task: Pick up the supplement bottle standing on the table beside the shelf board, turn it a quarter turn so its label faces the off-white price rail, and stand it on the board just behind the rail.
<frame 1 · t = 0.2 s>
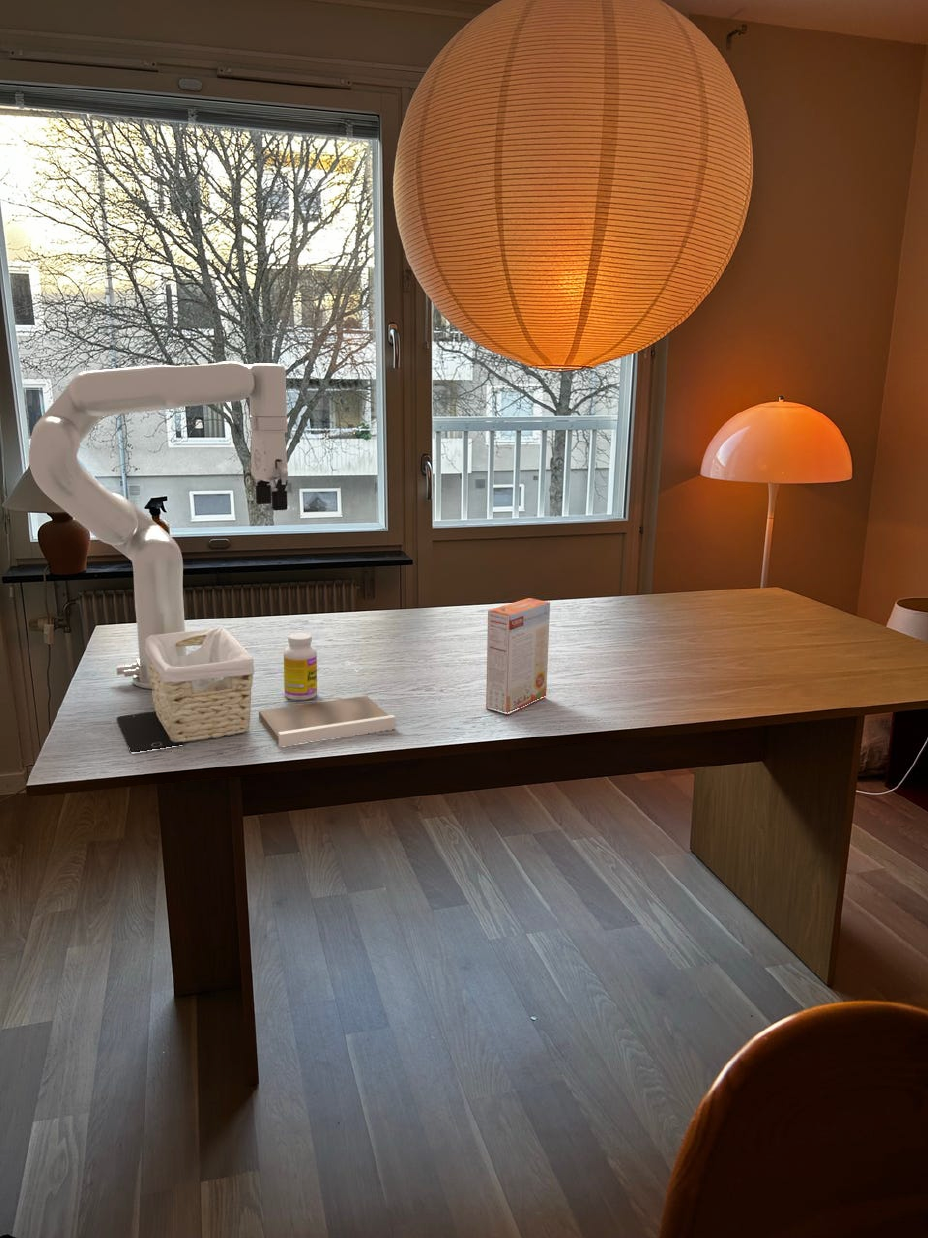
hand: (271, 506, 191), 36 cm above the table, tool pointing down, fingers open, 9 cm apart
price rail: (338, 737, 164), on the table
cell phone: (149, 735, 164), on the table
shelf board: (325, 722, 171), on the table
storage basket: (201, 720, 171), on the table
cracker box: (515, 704, 184), on the table
supplement bottle: (301, 696, 184), on the table
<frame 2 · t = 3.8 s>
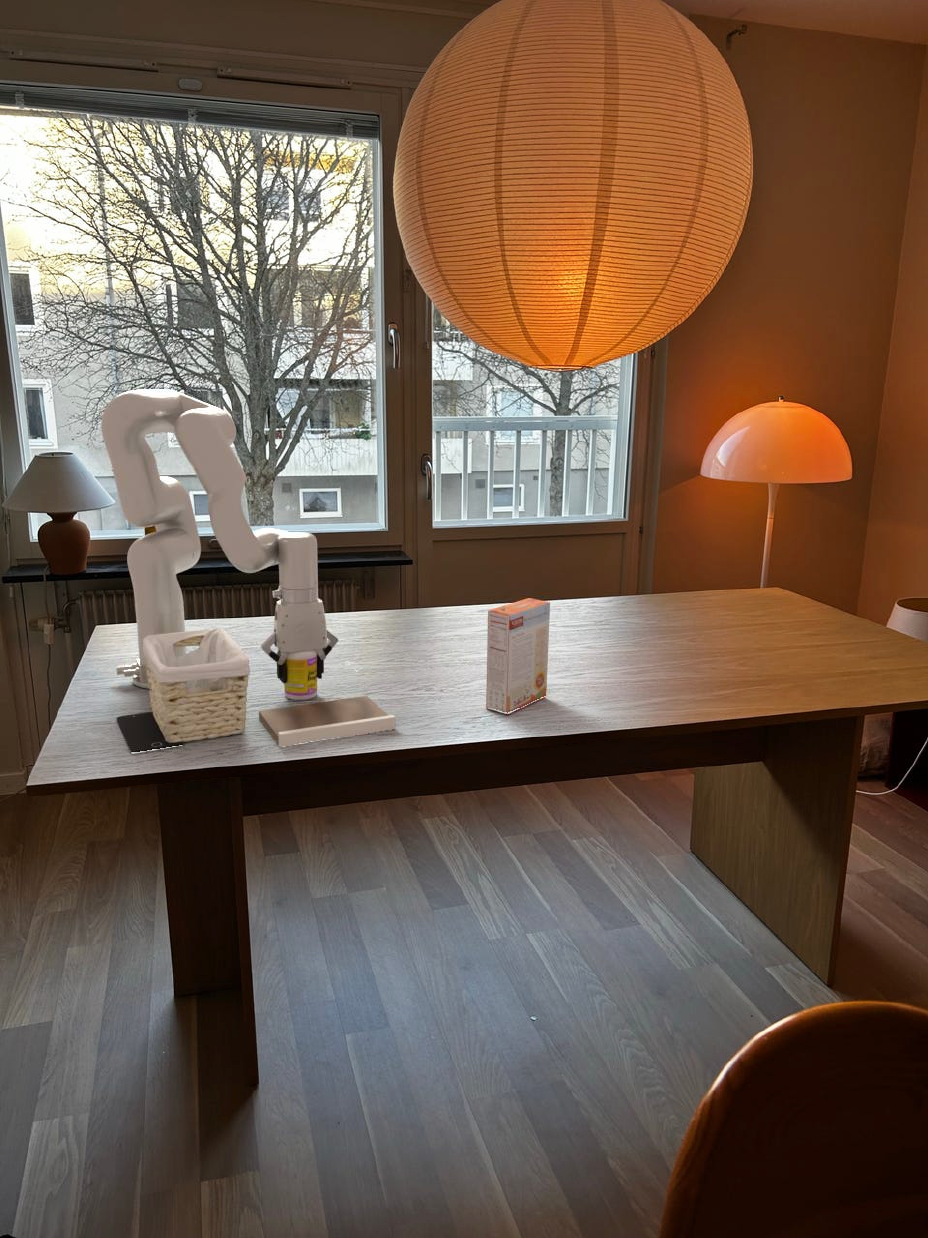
hand: (300, 678, 183), 4 cm above the table, tool pointing down, fingers closed on supplement bottle, 6 cm apart
supplement bottle: (301, 696, 184), on the table, touching gripper
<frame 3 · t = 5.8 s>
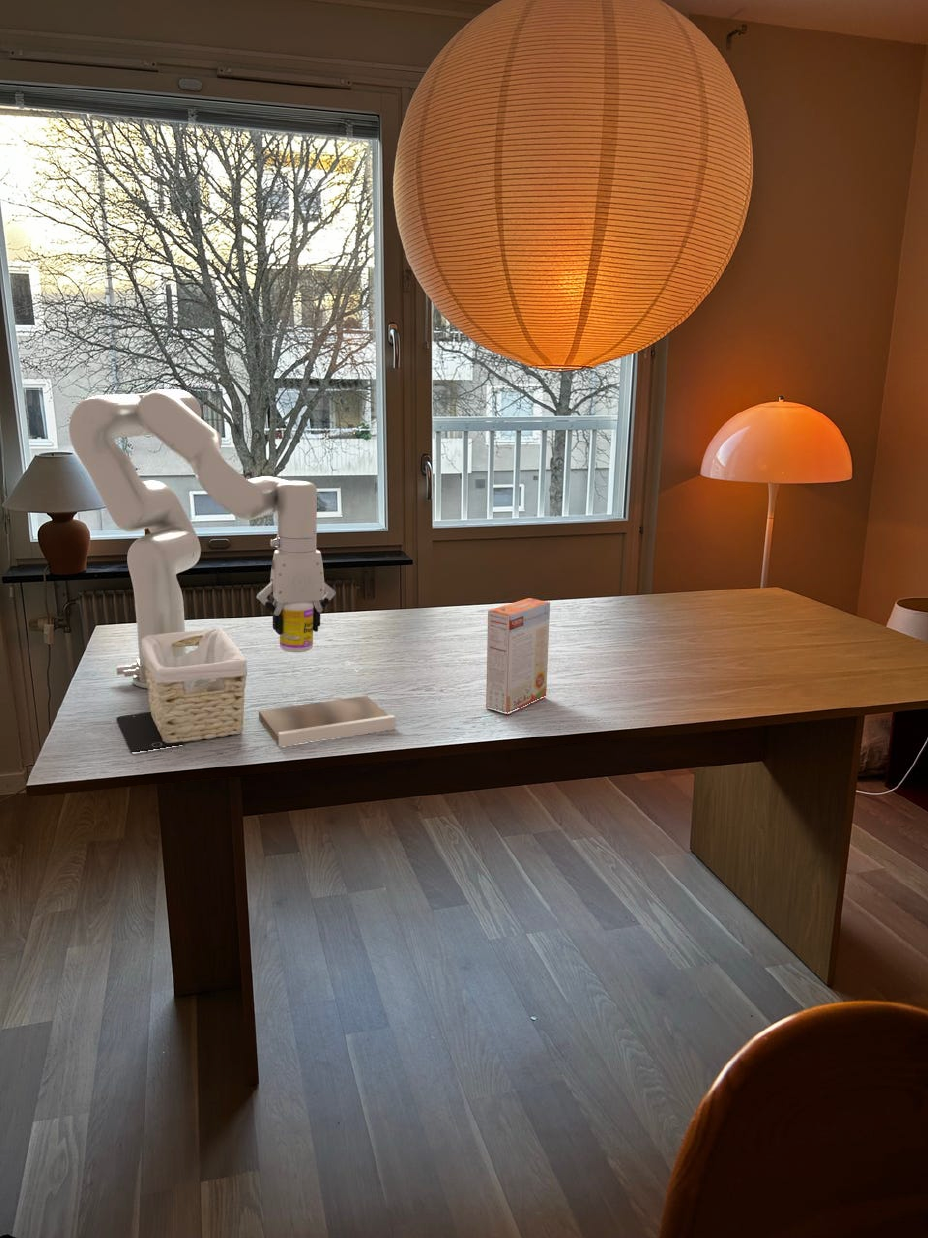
hand: (296, 630, 181), 14 cm above the table, tool pointing down, fingers closed on supplement bottle, 6 cm apart
supplement bottle: (296, 649, 182), point 10 cm above the table, touching gripper
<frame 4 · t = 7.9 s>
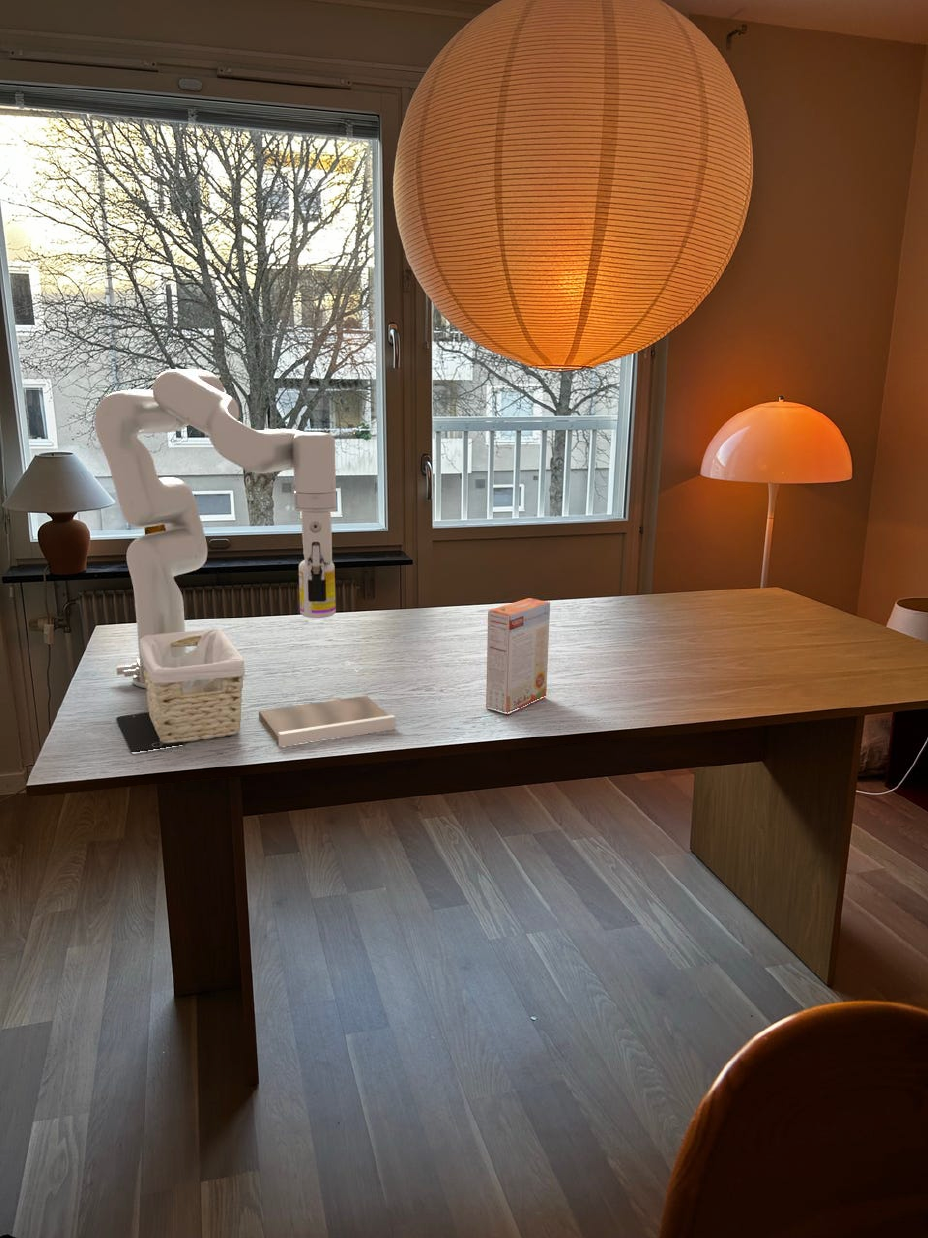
hand: (317, 595, 168), 24 cm above the table, tool pointing down, fingers closed on supplement bottle, 6 cm apart
supplement bottle: (317, 615, 169), point 20 cm above the table, touching gripper
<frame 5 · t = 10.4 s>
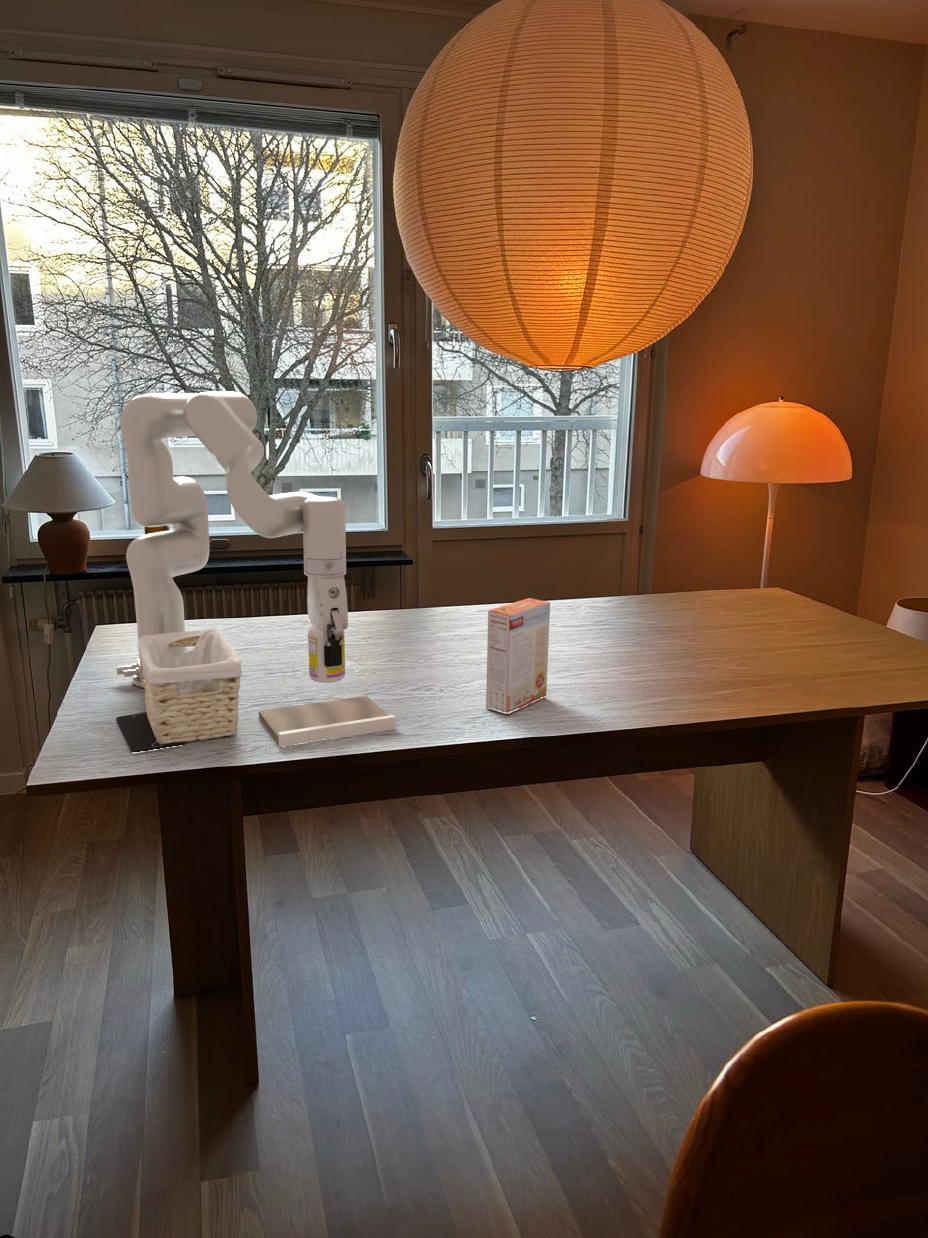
hand: (326, 659, 166), 13 cm above the table, tool pointing down, fingers closed on supplement bottle, 6 cm apart
supplement bottle: (327, 679, 167), point 9 cm above the table, touching gripper
when the fingers open (6 cm above the table, at t = 12.2 s): supplement bottle drops 1 cm, resting on shelf board.
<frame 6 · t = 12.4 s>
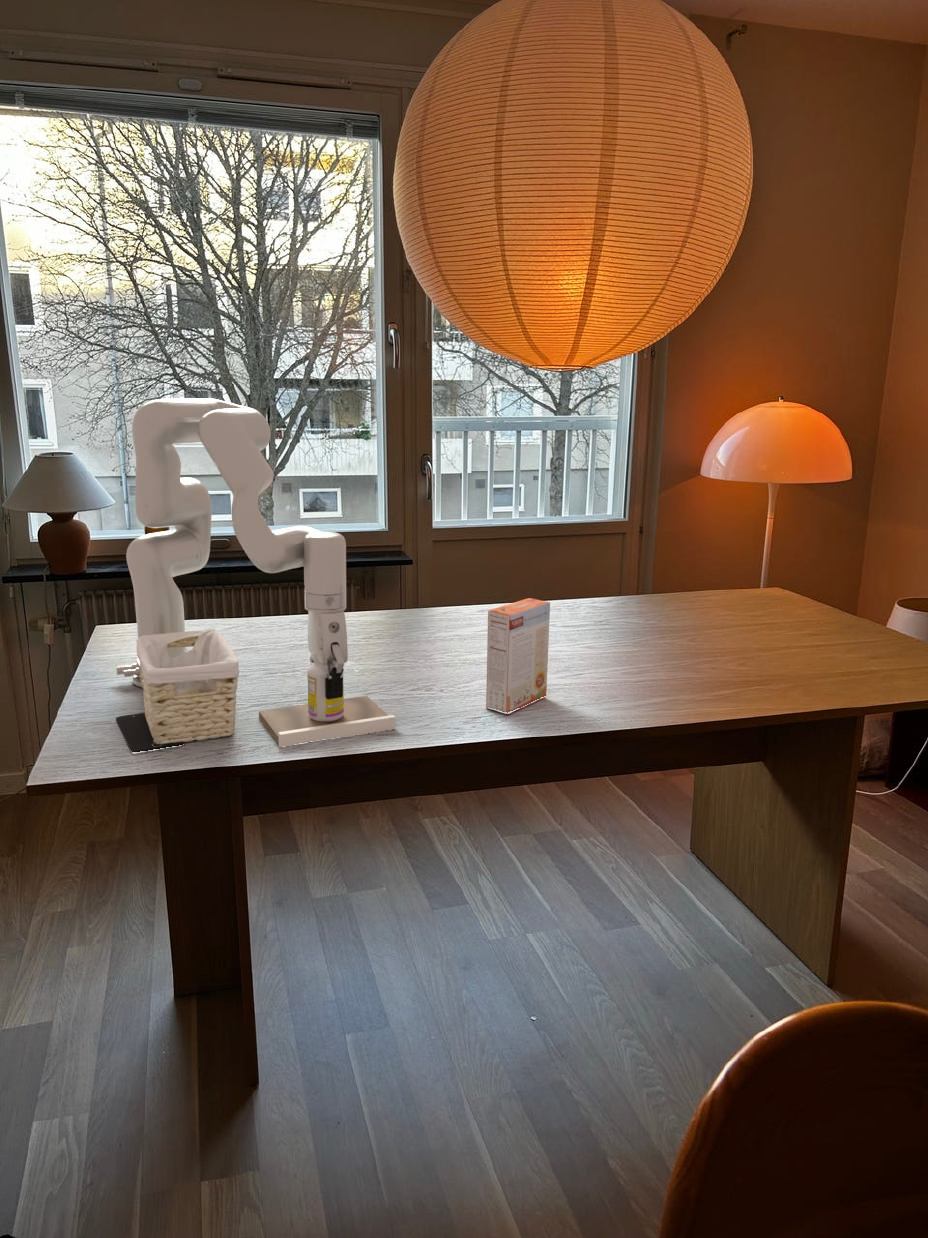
hand: (326, 689, 168), 7 cm above the table, tool pointing down, fingers open, 8 cm apart
supplement bottle: (326, 717, 170), point 1 cm above the table, touching shelf board
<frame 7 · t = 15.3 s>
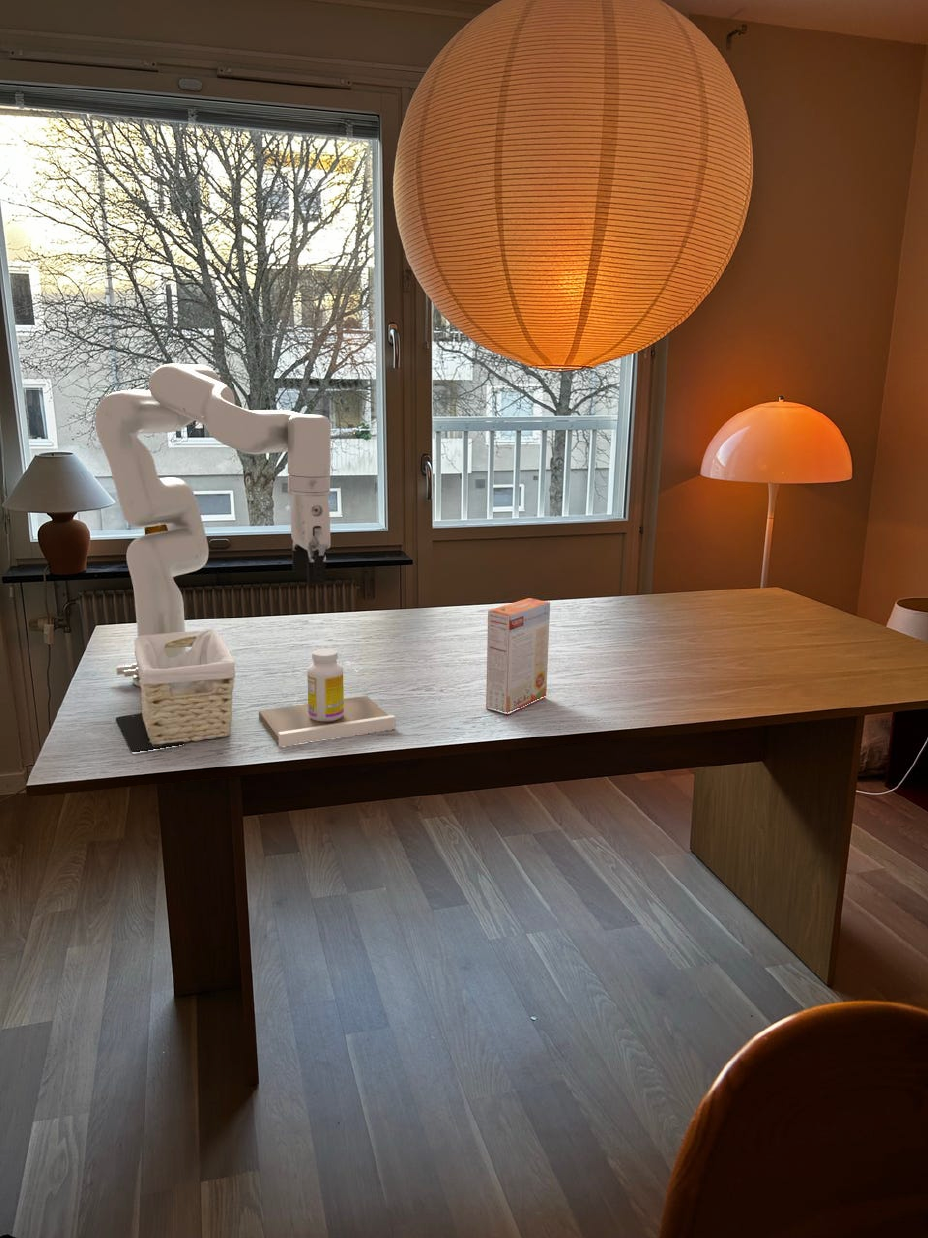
hand: (308, 577, 166), 28 cm above the table, tool pointing down, fingers open, 9 cm apart
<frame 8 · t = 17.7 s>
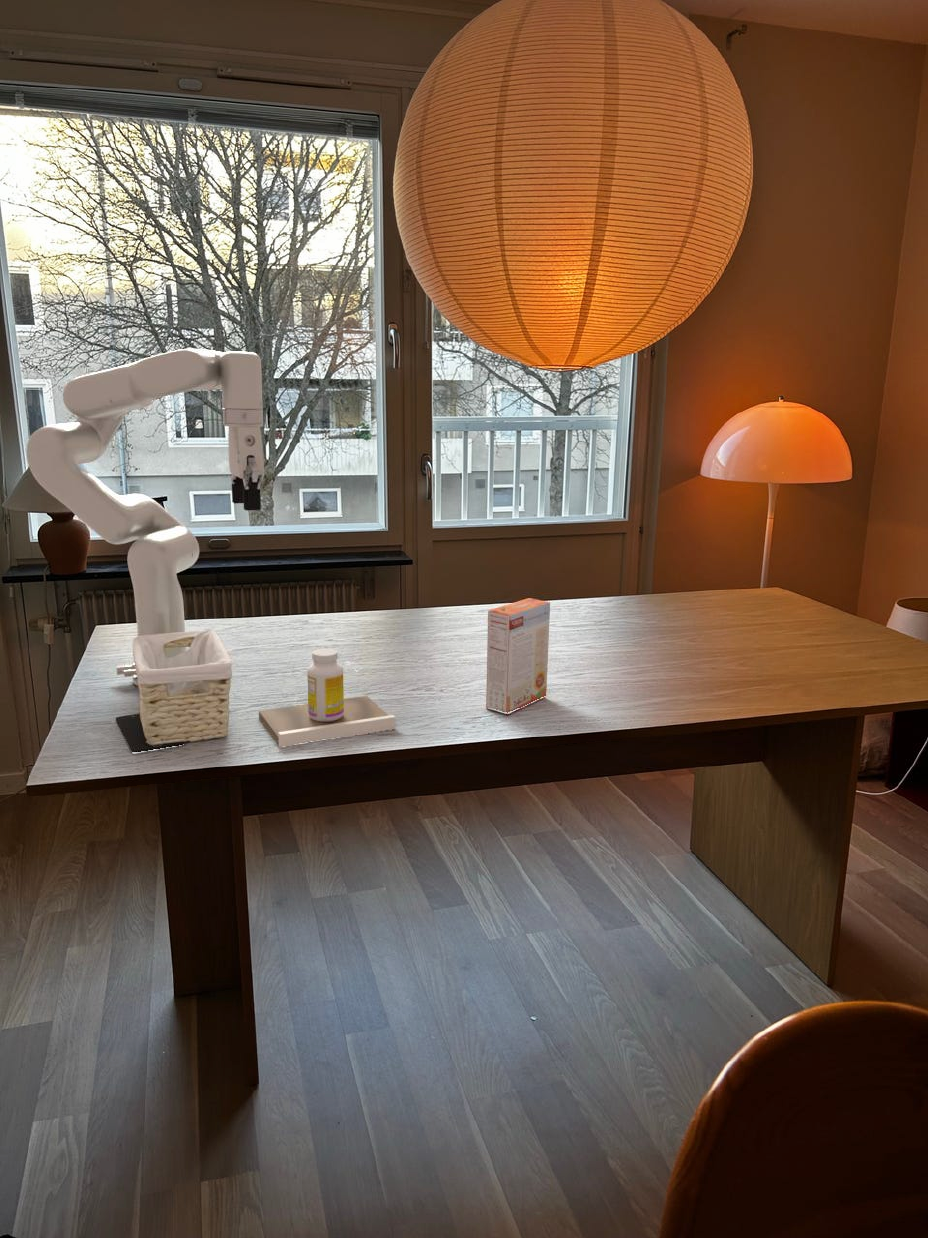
hand: (246, 506, 178), 38 cm above the table, tool pointing down, fingers open, 9 cm apart
at the end: supplement bottle inside the target area on the shelf board (0.3 cm from its centre), point 1.3 cm above the shelf board's base; supplement bottle tilted 0°; the gripper is holding nothing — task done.
